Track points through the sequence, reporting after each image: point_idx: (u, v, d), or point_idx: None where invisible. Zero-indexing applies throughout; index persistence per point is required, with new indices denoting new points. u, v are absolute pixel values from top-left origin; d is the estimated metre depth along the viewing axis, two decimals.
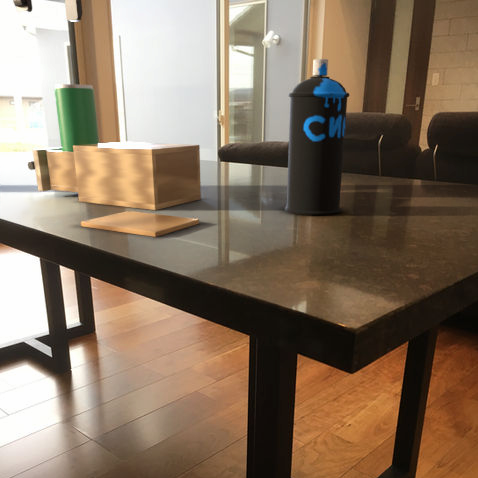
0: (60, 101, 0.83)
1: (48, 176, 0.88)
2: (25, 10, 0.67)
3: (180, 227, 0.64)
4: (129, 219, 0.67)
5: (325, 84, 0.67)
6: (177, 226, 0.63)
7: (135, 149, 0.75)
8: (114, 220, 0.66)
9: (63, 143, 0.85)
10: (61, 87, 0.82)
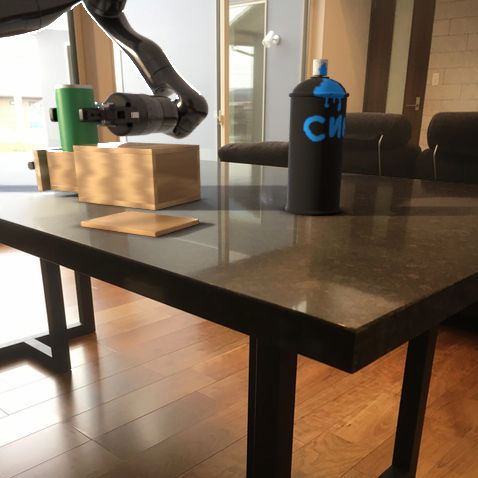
0: (60, 101, 0.83)
1: (48, 176, 0.88)
2: (83, 118, 0.83)
3: (180, 227, 0.64)
4: (129, 219, 0.67)
5: (325, 84, 0.67)
6: (177, 226, 0.63)
7: (135, 149, 0.75)
8: (114, 220, 0.66)
9: (63, 143, 0.85)
10: (61, 87, 0.82)
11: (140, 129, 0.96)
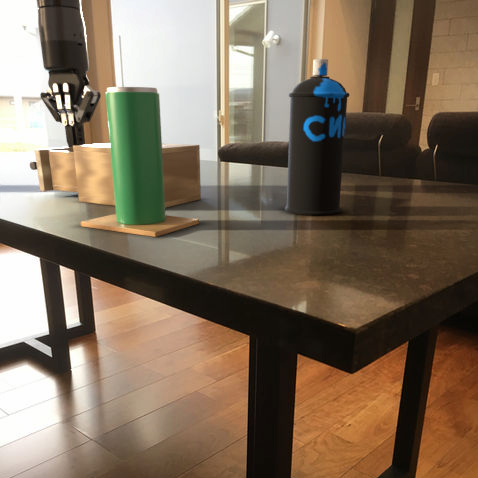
0: (114, 111, 0.59)
1: (50, 176, 0.88)
2: None
3: (180, 227, 0.64)
4: None
5: (325, 84, 0.67)
6: (177, 226, 0.63)
7: None
8: (114, 220, 0.66)
9: (117, 168, 0.62)
10: (117, 91, 0.58)
11: (87, 52, 0.89)
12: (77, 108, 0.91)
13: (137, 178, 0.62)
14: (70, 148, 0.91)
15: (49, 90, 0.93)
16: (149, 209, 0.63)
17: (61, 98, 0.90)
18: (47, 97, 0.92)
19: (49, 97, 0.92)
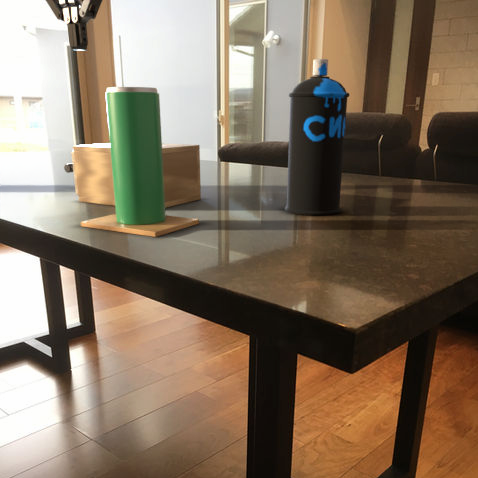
0: (114, 111, 0.59)
1: None
2: (84, 49, 0.86)
3: (180, 227, 0.64)
4: None
5: (325, 84, 0.67)
6: (177, 226, 0.63)
7: None
8: (114, 220, 0.66)
9: (117, 168, 0.62)
10: (117, 91, 0.58)
11: None
12: (81, 2, 0.82)
13: (137, 178, 0.62)
14: None
15: None
16: (149, 209, 0.63)
17: None
18: None
19: None
